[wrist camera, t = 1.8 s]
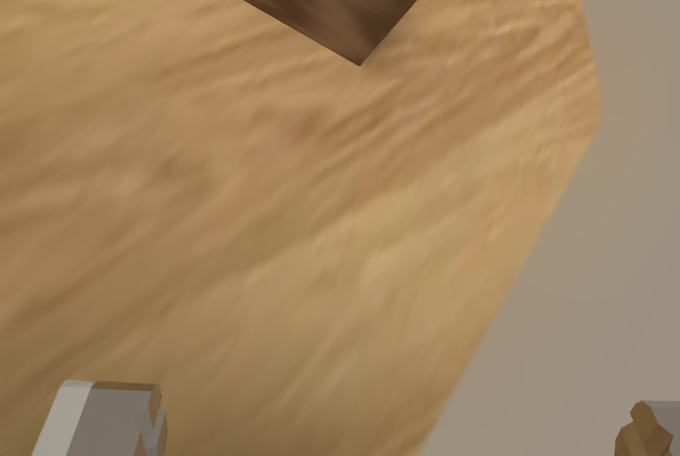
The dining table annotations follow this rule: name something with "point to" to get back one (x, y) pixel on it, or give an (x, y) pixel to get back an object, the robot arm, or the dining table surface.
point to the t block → (340, 22)
